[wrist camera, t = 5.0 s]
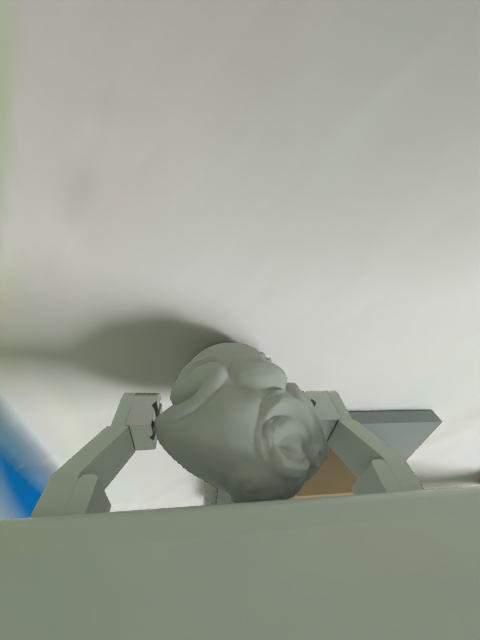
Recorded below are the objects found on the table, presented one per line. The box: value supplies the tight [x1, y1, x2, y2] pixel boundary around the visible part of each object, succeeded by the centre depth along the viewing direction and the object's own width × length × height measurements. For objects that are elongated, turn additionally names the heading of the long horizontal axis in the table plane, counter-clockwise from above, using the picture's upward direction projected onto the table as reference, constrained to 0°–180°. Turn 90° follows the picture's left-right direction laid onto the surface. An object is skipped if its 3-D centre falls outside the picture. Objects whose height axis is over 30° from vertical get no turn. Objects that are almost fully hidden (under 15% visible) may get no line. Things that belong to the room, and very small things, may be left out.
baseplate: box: [216, 410, 442, 504], centre depth 20 cm, size 16×16×4 cm
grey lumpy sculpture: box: [153, 342, 329, 503], centre depth 11 cm, size 6×7×7 cm
